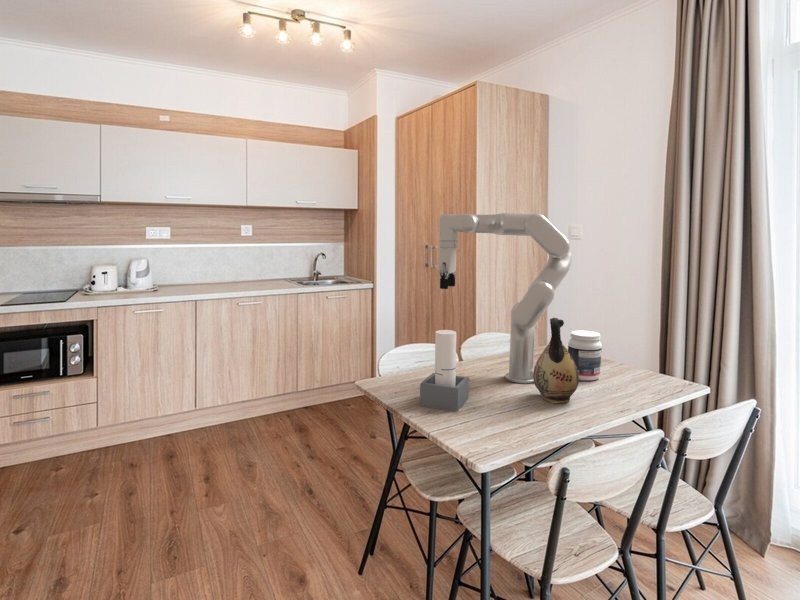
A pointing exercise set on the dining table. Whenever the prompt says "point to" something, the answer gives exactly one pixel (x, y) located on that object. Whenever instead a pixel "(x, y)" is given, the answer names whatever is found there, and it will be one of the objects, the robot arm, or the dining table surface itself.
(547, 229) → the robot arm
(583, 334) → the supplement tub
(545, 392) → the ceramic jug
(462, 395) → the square well
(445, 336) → the cylindrical container
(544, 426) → the dining table surface
